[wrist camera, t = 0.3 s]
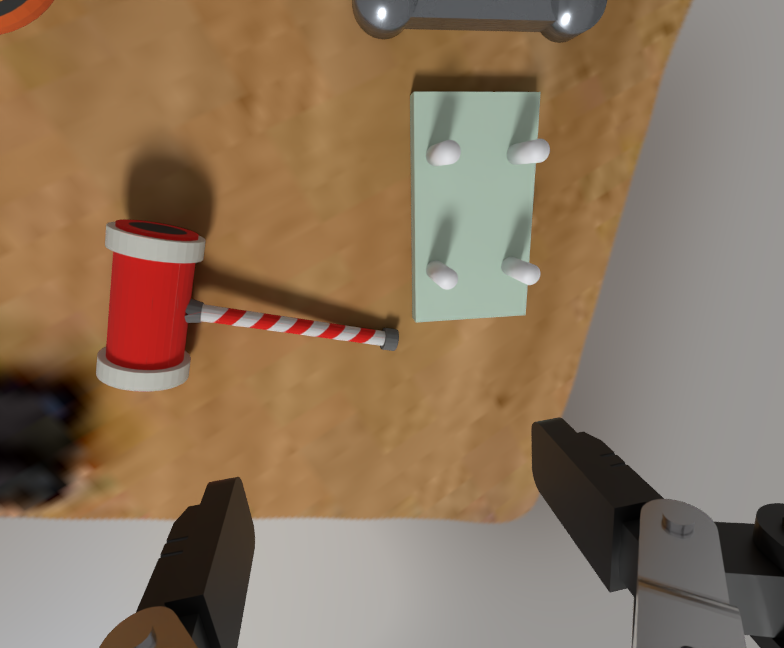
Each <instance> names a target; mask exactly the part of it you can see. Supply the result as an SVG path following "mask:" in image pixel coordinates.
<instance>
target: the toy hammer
mask: <svg viewBox="0 0 784 648" xmlns="http://www.w3.org/2000/svg"><path fill="white" fill-rule="evenodd" d="M205 241H206V240H205V239H204V238H203V237H201V236H199V235H198V234H197V233H195V232H193V231H191V230H188V229H184V228H180V227H176V226H172V225H167V224H162V223H156V222H149V221H141V220H117V221H116V222H109V223H107V224H106V238H105V247H107V248H108V249H110V250H112V251H113V262H112V276H111V290H110V303H109V317H108V330H107V344H106V347H104V348H102V349H101V350H100V351H99V352H98V355H97V369H96V375H97V377H98V379H99V380H100V381H102V382H103V383H105V384H107V385H109V386H112V387H115V388H119V389H123V390H130V391H141V392H147V391H159V390H165V389H170V388H173V387H176V386H178V385H180V384H182V383H184V382H185V381H186V380H187V379H188V376H189V368H190V360H191V357H190V355H189V354H188V353H187V352H186V351H185V344H186V336H187V327H188V323H200V322H201V321H205V322H213V323H220V324H227V325H235V326H242V327H249V328H256V329H264V330H271V331H278V332H286V333H293V334H300V335H308V336H315V337H322V338H329V339H337V340H344V341H351V342H359V343H366V344H373V345H380V348H381V349H383V350H391V351H395V350H396V348H397V345H398V341H399V332H398V330H397V329H390V328H383V330H382V331H380V330H373V329H366V328H359V327H353V326H346V325H339V324H332V323H325V322H319V321H312V320H305V319H298V318H292V317H285V316H278V315H271V314H264V313H258V312H251V311H244V310H237V309H231V308H224V307H218V306H211V305H205V304H204V303H203V302H200V301H197V300H194V299H191V295H192V286H193V278H194V270H195V263H197V262H201V261H202V260H203V257H204V249H205Z"/></svg>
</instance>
